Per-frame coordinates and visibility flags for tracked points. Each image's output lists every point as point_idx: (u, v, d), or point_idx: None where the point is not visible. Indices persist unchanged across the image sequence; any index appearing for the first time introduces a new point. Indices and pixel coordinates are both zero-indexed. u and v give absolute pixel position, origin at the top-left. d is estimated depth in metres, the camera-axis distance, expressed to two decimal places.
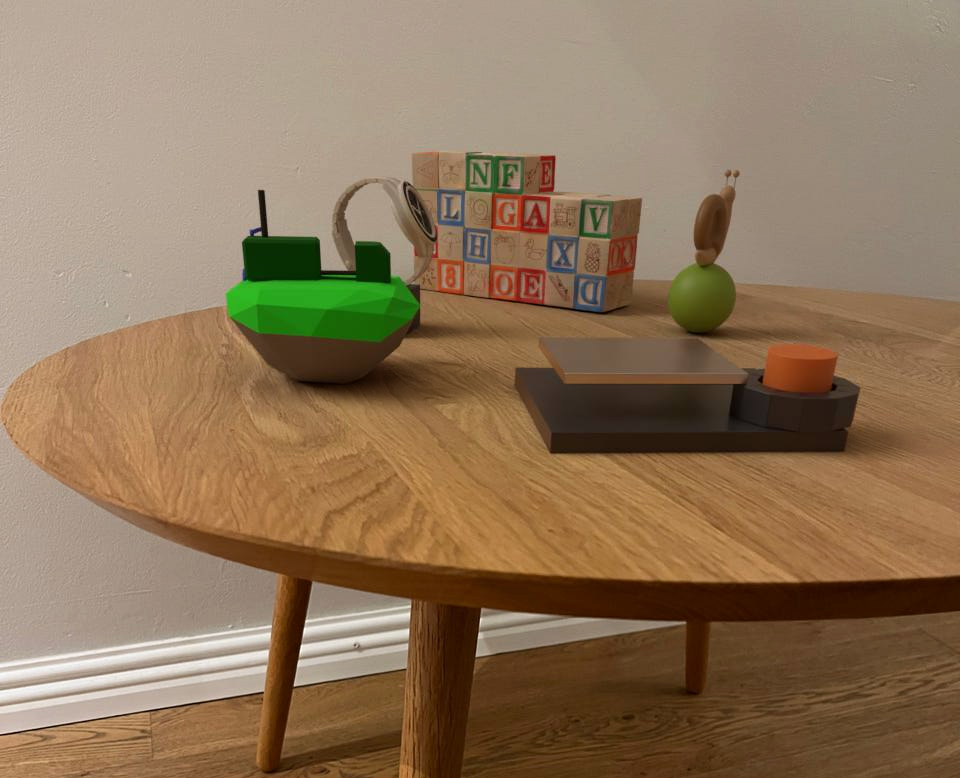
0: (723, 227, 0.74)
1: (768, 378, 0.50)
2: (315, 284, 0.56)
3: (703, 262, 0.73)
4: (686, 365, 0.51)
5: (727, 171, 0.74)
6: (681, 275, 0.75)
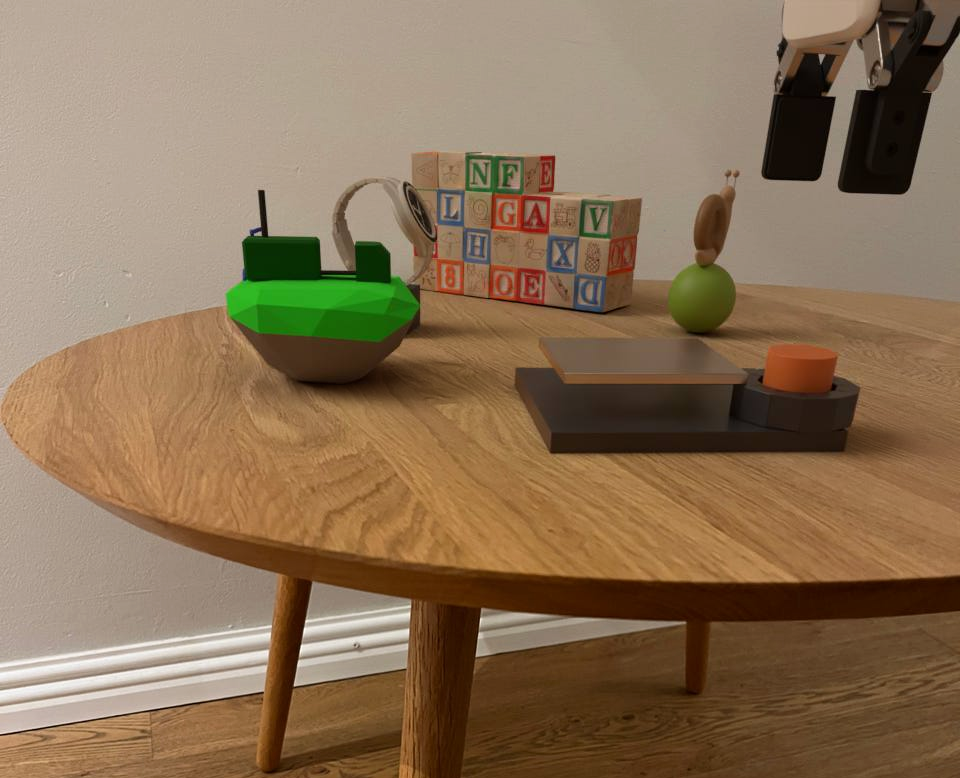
0: (723, 227, 0.74)
1: (768, 378, 0.50)
2: (315, 284, 0.56)
3: (703, 262, 0.73)
4: (686, 365, 0.51)
5: (727, 171, 0.74)
6: (681, 275, 0.75)
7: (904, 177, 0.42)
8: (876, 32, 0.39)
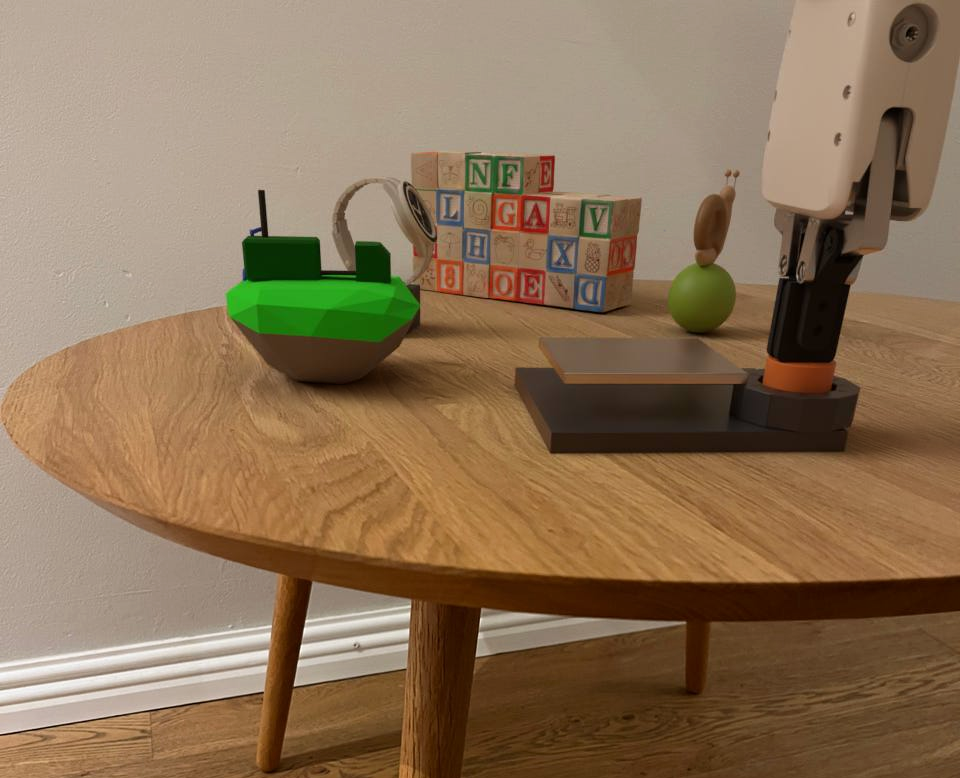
0: (723, 227, 0.74)
1: (767, 385, 0.50)
2: (315, 284, 0.56)
3: (703, 262, 0.73)
4: (686, 365, 0.51)
5: (727, 171, 0.74)
6: (681, 275, 0.75)
7: (830, 349, 0.49)
8: (813, 240, 0.45)
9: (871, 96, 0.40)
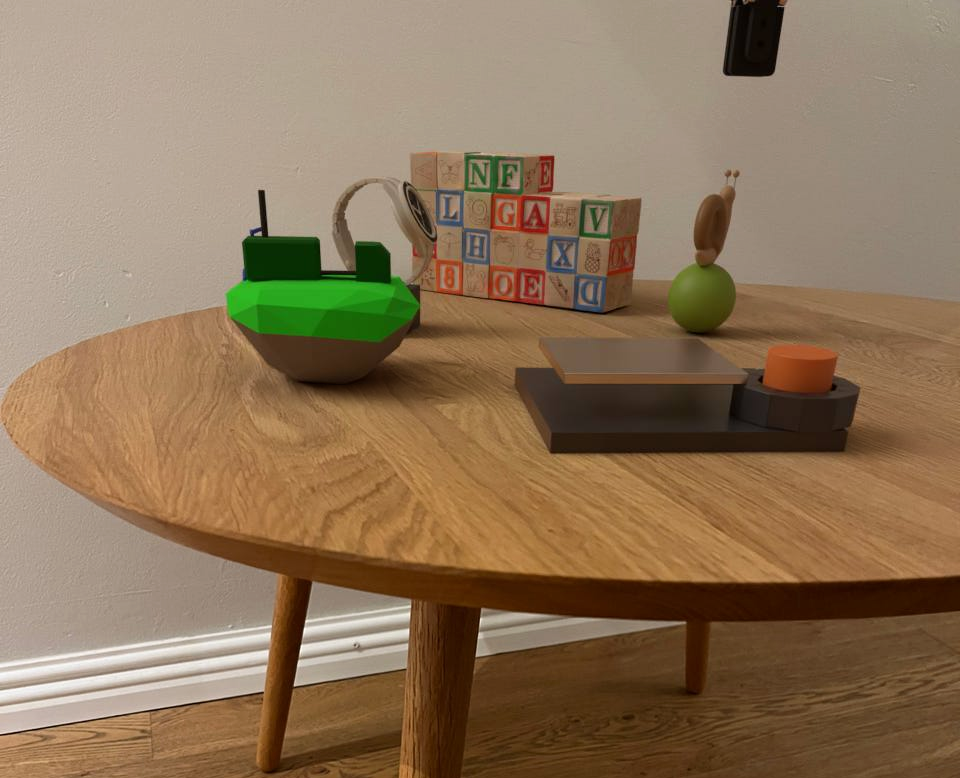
0: (723, 227, 0.74)
1: (768, 378, 0.50)
2: (315, 284, 0.56)
3: (703, 262, 0.73)
4: (686, 365, 0.51)
5: (727, 171, 0.74)
6: (681, 275, 0.75)
7: (770, 64, 0.64)
8: None
9: None
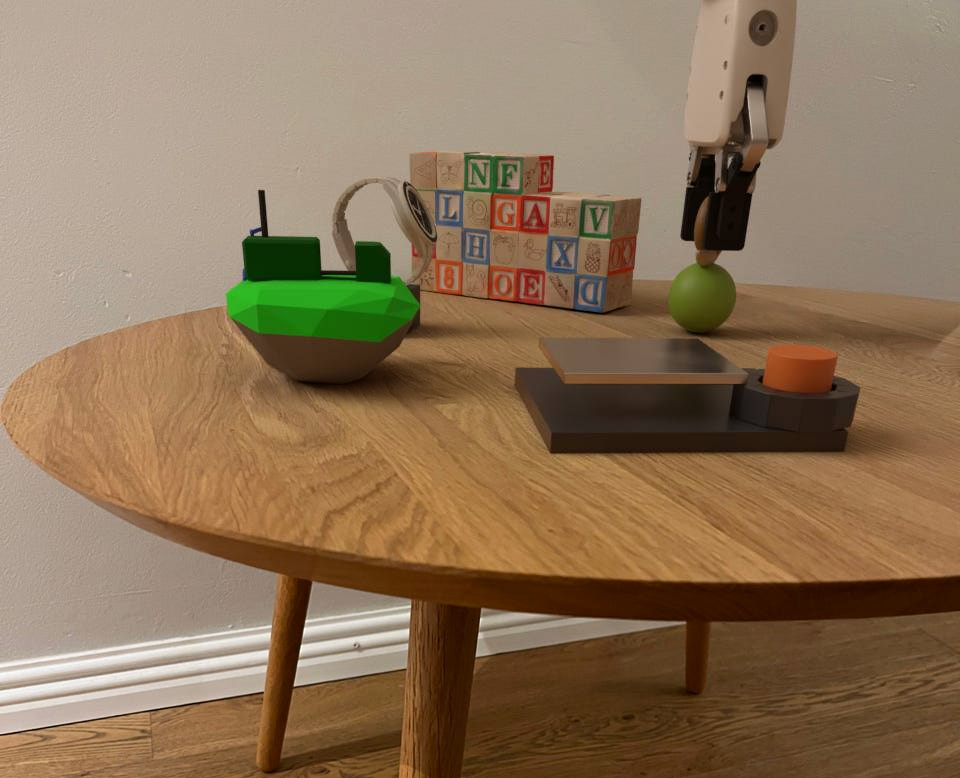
0: None
1: (768, 378, 0.50)
2: (315, 284, 0.56)
3: (703, 262, 0.73)
4: (686, 365, 0.51)
5: None
6: (681, 275, 0.74)
7: (740, 241, 0.71)
8: (721, 159, 0.68)
9: (739, 67, 0.64)
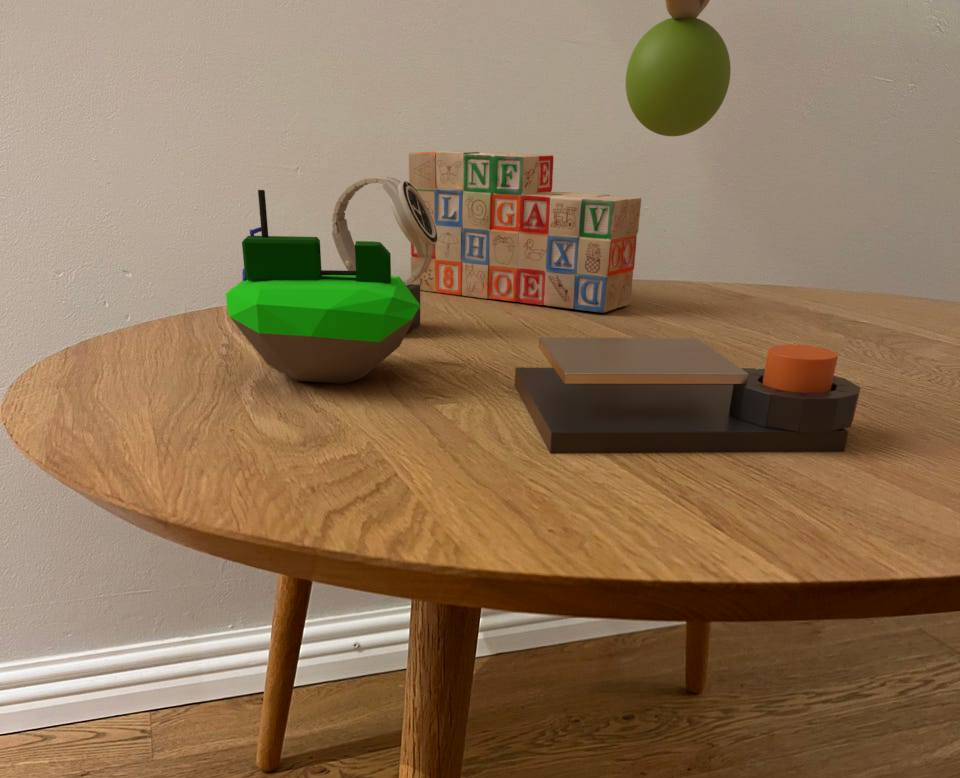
0: None
1: (768, 378, 0.50)
2: (315, 284, 0.56)
3: (678, 9, 0.46)
4: (686, 365, 0.51)
5: None
6: (645, 37, 0.48)
7: None
8: None
9: None
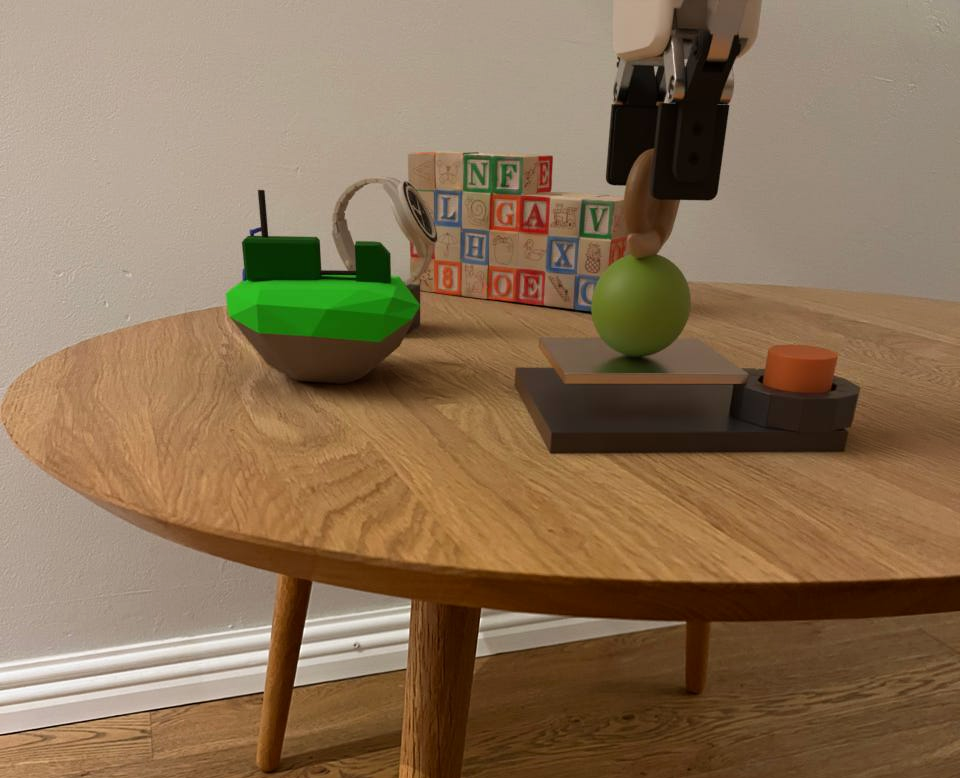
0: (670, 200, 0.49)
1: (768, 378, 0.50)
2: (315, 284, 0.56)
3: (639, 252, 0.48)
4: (686, 365, 0.51)
5: None
6: (608, 272, 0.50)
7: (711, 184, 0.44)
8: (671, 49, 0.42)
9: None
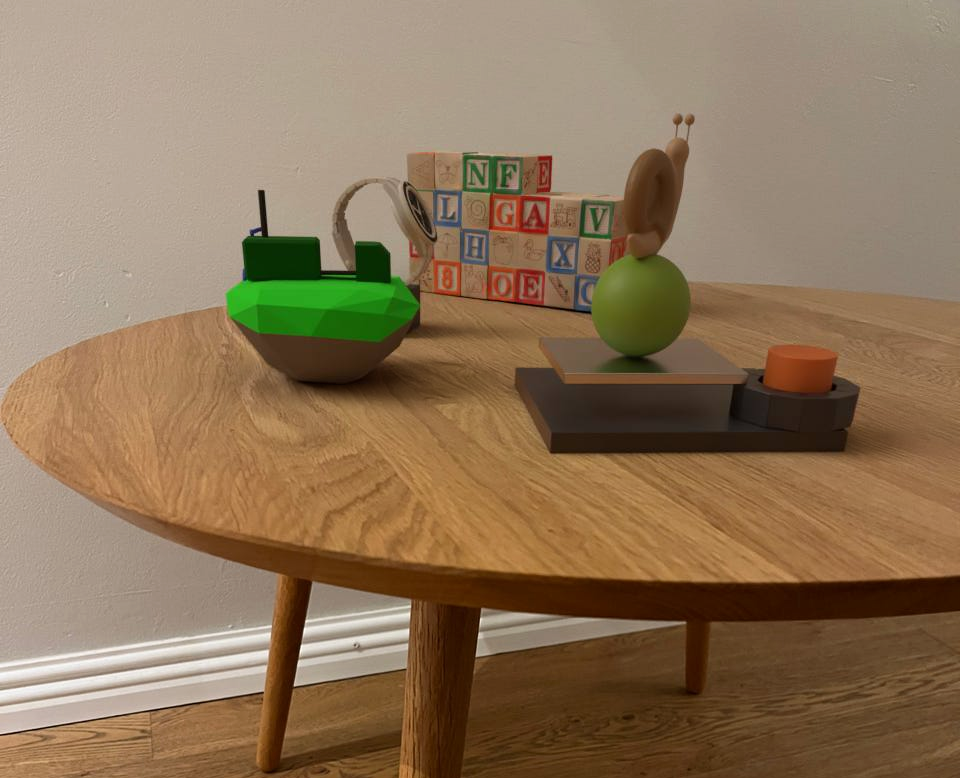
0: (670, 200, 0.49)
1: (768, 378, 0.50)
2: (315, 284, 0.56)
3: (639, 252, 0.48)
4: (686, 365, 0.51)
5: (676, 116, 0.49)
6: (608, 272, 0.50)
7: None
8: None
9: None
